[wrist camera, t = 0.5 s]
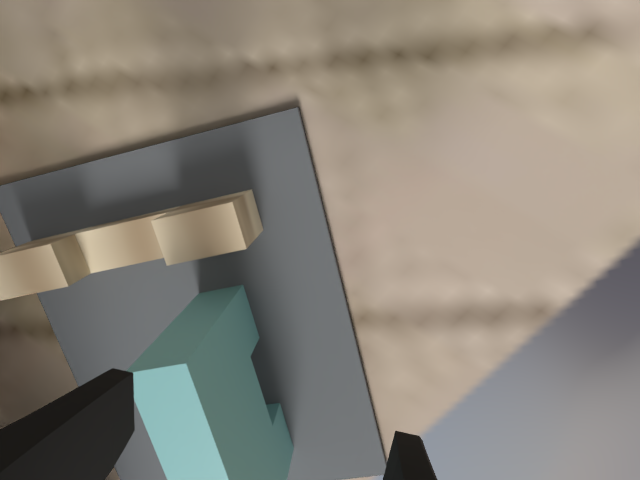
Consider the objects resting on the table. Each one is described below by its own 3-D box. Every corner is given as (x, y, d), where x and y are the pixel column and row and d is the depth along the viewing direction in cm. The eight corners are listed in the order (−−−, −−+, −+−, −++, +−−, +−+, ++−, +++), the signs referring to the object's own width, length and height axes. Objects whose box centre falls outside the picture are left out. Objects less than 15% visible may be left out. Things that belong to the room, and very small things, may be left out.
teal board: (253, 452, 24) (210, 583, 17) (198, 293, 22) (123, 373, 15) (293, 447, 24) (265, 579, 17) (243, 284, 21) (185, 363, 14)
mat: (133, 496, 26) (130, 502, 26) (-4, 187, 21) (-11, 188, 21) (387, 468, 24) (388, 474, 23) (298, 107, 19) (297, 107, 18)
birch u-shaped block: (47, 276, 22) (0, 300, 19) (31, 240, 22) (-20, 260, 19) (263, 229, 20) (246, 249, 17) (251, 189, 20) (232, 201, 17)
